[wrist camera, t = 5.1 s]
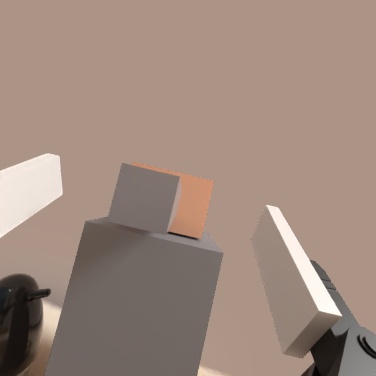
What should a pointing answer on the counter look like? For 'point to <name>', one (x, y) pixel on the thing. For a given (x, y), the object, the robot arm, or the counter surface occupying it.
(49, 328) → the counter surface
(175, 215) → the orange and grey block
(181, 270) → the grey tall block
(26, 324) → the pump dispenser
